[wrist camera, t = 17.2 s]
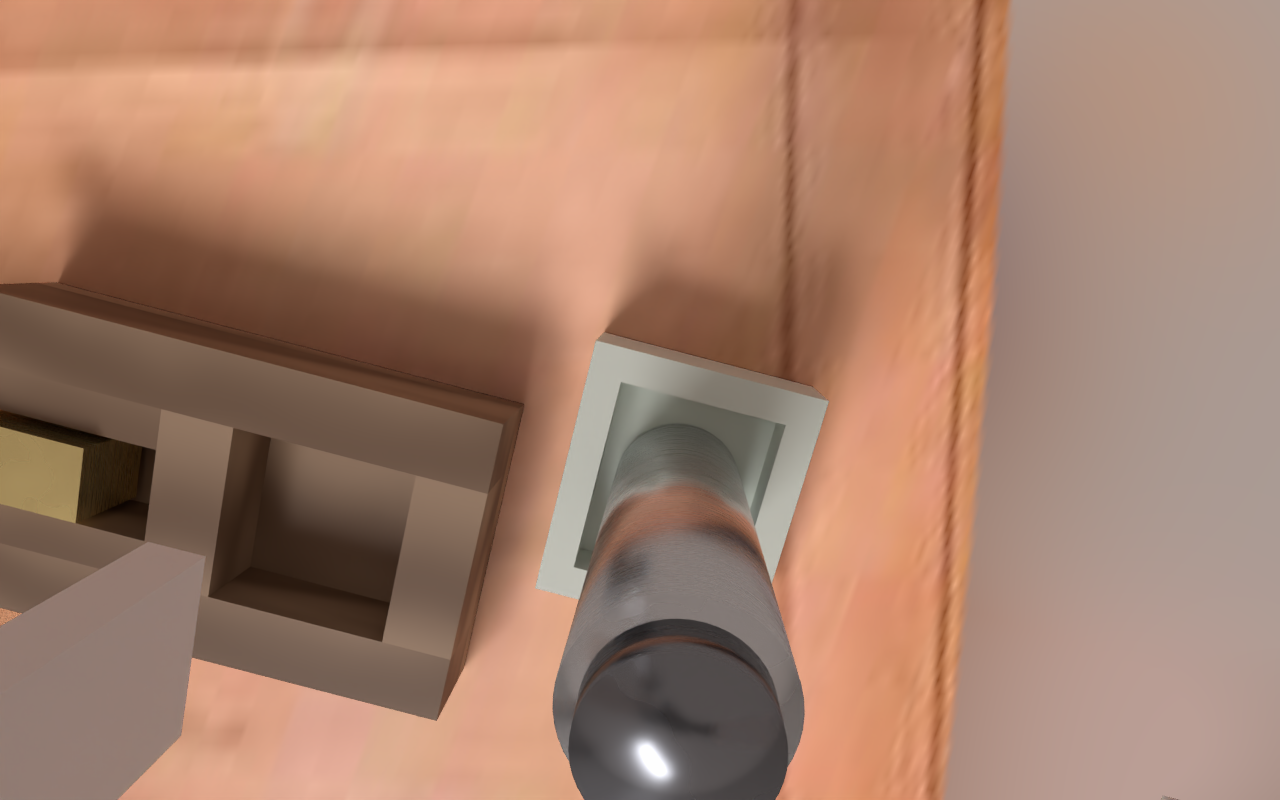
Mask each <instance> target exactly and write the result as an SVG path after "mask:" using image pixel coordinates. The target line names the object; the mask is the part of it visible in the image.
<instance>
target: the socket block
mask: <svg viewBox="0 0 1280 800" xmlns="http://www.w3.org/2000/svg"><path fill="white" fill-rule="evenodd" d="M523 407H524V404H521V403H517V402H513V401H509V400H505V399H502V398H498V397H494V396H490V395H486V394H482V393H479V392H475V391H471V390H467V389H463V388H459V387H456V386H452V385H448V384H444V383H440V382H436V381H433V380H429V379H425V378H421V377H417V376H413V375H410V374H406V373H402V372H398V371H394V370H390V369H387V368H383V367H379V366H375V365H371V364H367V363H364V362H360V361H356V360H352V359H348V358H344V357H341V356H337V355H333V354H329V353H325V352H321V351H317V350H314V349H310V348H306V347H302V346H298V345H294V344H291V343H287V342H283V341H279V340H275V339H271V338H268V337H264V336H260V335H256V334H252V333H248V332H245V331H241V330H237V329H233V328H229V327H225V326H222V325H218V324H214V323H210V322H206V321H202V320H199V319H195V318H191V317H187V316H183V315H179V314H176V313H172V312H168V311H164V310H160V309H156V308H153V307H149V306H145V305H141V304H137V303H133V302H130V301H126V300H122V299H118V298H114V297H110V296H107V295H103V294H99V293H95V292H91V291H87V290H84V289H80V288H76V287H72V286H68V285H64V284H61V283H57V282H55V283H25V284H0V410H4V411H8V412H11V413H15V414H19V415H23V416H27V417H31V418H35V419H38V420H42V421H46V422H50V423H54V424H58V425H61V426H65V427H69V428H73V429H77V430H81V431H85V432H88V433H92V434H96V435H100V436H104V437H108V438H111V439H115V440H119V441H123V442H127V443H131V444H135V445H138V446H142V453H141V461H140V469H139V477H138V485H137V493H136V497H135V498H132V499H130V500H128V501H125V502H123V503H121V504H119V505H116V506H114V507H112V508H109V509H107V510H105V511H103V512H100V513H98V514H96V515H93V516H91V517H89V518H87V519H84V520H82V521H80V522H77V523H72V522H69V521H65V520H61V519H57V518H53V517H49V516H45V515H42V514H38V513H34V512H30V511H26V510H22V509H18V508H15V507H11V506H7V505H3V504H0V608H3V609H7V610H11V611H15V612H19V613H22V614H23V613H24V612H26V611H28V610H30V609H31V608H33V607H35V606H37V605H38V604H40V603H42V602H44V601H45V600H47V599H49V598H51V597H52V596H54V595H56V594H58V593H59V592H61V591H63V590H65V589H66V588H68V587H70V586H72V585H73V584H75V583H77V582H79V581H80V580H82V579H84V578H86V577H87V576H89V575H91V574H93V573H94V572H96V571H98V570H100V569H101V568H103V567H105V566H107V565H108V564H110V563H112V562H114V561H116V560H117V559H119V558H121V557H123V556H124V555H126V554H128V553H130V552H131V551H133V550H135V549H137V548H138V547H140V546H142V545H144V544H145V543H147V542H151V543H155V544H159V545H163V546H167V547H171V548H175V549H179V550H183V551H187V552H190V553H194V554H198V555H202V556H206V557H205V564H204V572H203V579H202V586H201V593H200V601H199V608H198V615H197V623H196V630H195V637H194V645H193V652H192V658H196V659H200V660H204V661H208V662H212V663H216V664H219V665H223V666H227V667H231V668H235V669H239V670H243V671H246V672H250V673H254V674H258V675H262V676H266V677H270V678H273V679H277V680H281V681H285V682H289V683H293V684H297V685H301V686H304V687H308V688H312V689H316V690H320V691H324V692H328V693H331V694H335V695H339V696H343V697H347V698H351V699H355V700H358V701H362V702H366V703H370V704H374V705H378V706H382V707H385V708H389V709H393V710H397V711H401V712H405V713H409V714H413V715H416V716H420V717H424V718H428V719H432V720H436V721H437V719H438V717H439V715H440V713H441V711H442V709H443V707H444V706H445V704H446V702H447V700H448V698H449V696H450V694H451V692H452V690H453V688H454V686H455V684H456V682H457V680H458V678H459V676H460V674H461V673H462V671H463V669H464V664H465V660H466V655H467V651H468V647H469V642H470V638H471V634H472V629H473V625H474V621H475V616H476V612H477V608H478V603H479V599H480V594H481V590H482V586H483V581H484V577H485V573H486V568H487V564H488V560H489V555H490V551H491V547H492V542H493V538H494V534H495V529H496V525H497V520H498V516H499V512H500V507H501V503H502V499H503V494H504V490H505V486H506V481H507V477H508V473H509V468H510V464H511V459H512V455H513V451H514V446H515V442H516V438H517V433H518V429H519V425H520V420H521V416H522V412H523Z"/></svg>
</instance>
